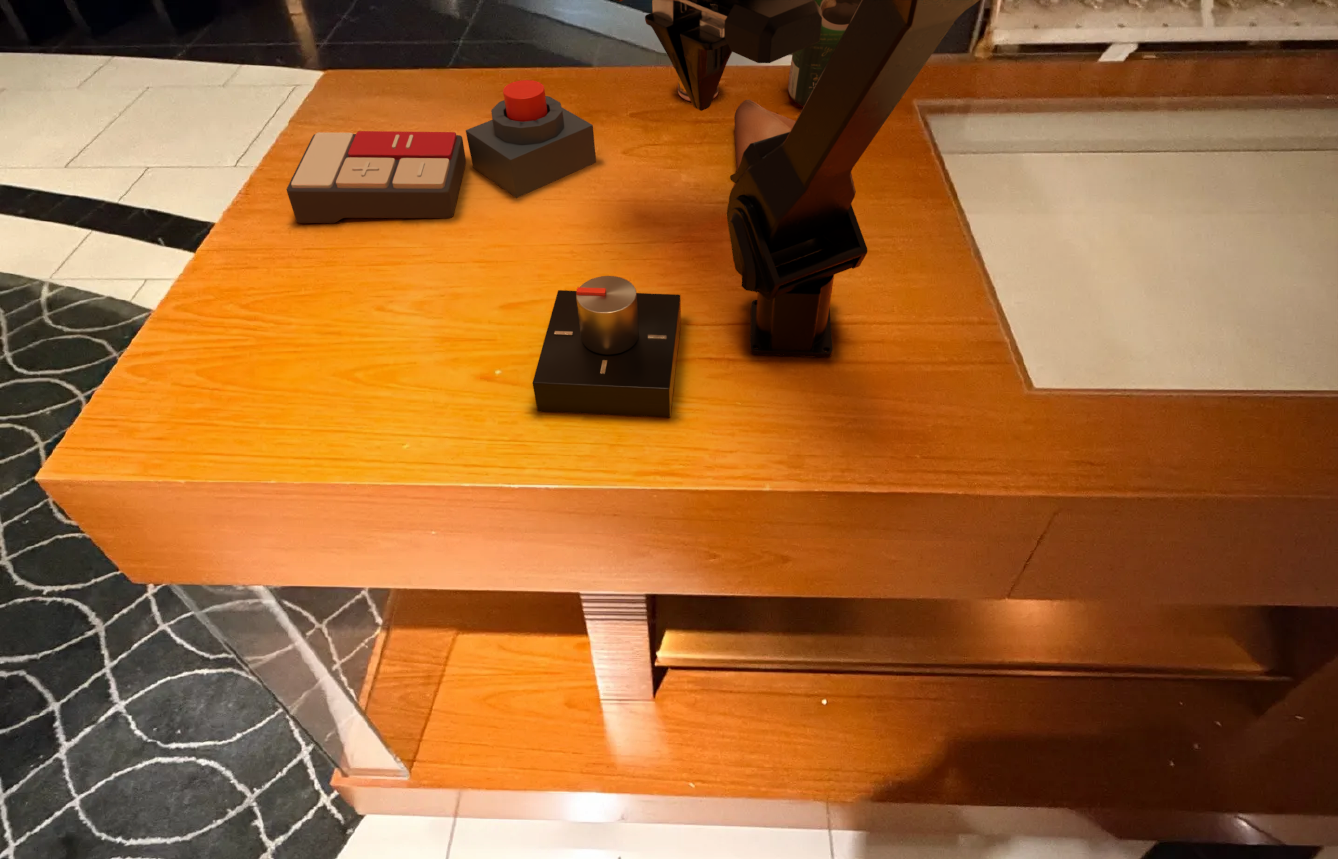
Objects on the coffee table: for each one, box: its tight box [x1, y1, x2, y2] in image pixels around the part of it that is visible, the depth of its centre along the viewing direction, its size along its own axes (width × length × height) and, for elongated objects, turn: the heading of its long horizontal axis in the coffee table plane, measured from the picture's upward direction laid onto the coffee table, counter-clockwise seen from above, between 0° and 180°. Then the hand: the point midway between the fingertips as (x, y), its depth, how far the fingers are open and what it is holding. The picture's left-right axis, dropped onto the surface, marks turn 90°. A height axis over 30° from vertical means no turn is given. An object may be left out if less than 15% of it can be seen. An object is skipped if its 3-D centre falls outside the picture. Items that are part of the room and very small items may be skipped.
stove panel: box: [532, 289, 682, 418], centre depth 67 cm, size 11×10×3 cm
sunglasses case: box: [733, 99, 796, 171], centre depth 86 cm, size 18×7×7 cm
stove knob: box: [575, 275, 639, 355], centre depth 64 cm, size 4×4×4 cm
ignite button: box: [502, 79, 547, 122], centre depth 84 cm, size 4×4×3 cm
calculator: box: [286, 130, 467, 224], centre depth 85 cm, size 11×4×15 cm
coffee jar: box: [787, 0, 862, 107], centre depth 92 cm, size 10×8×19 cm
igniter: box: [465, 95, 597, 199], centre depth 87 cm, size 8×10×6 cm
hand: (701, 108), depth 69 cm, fingers closed
